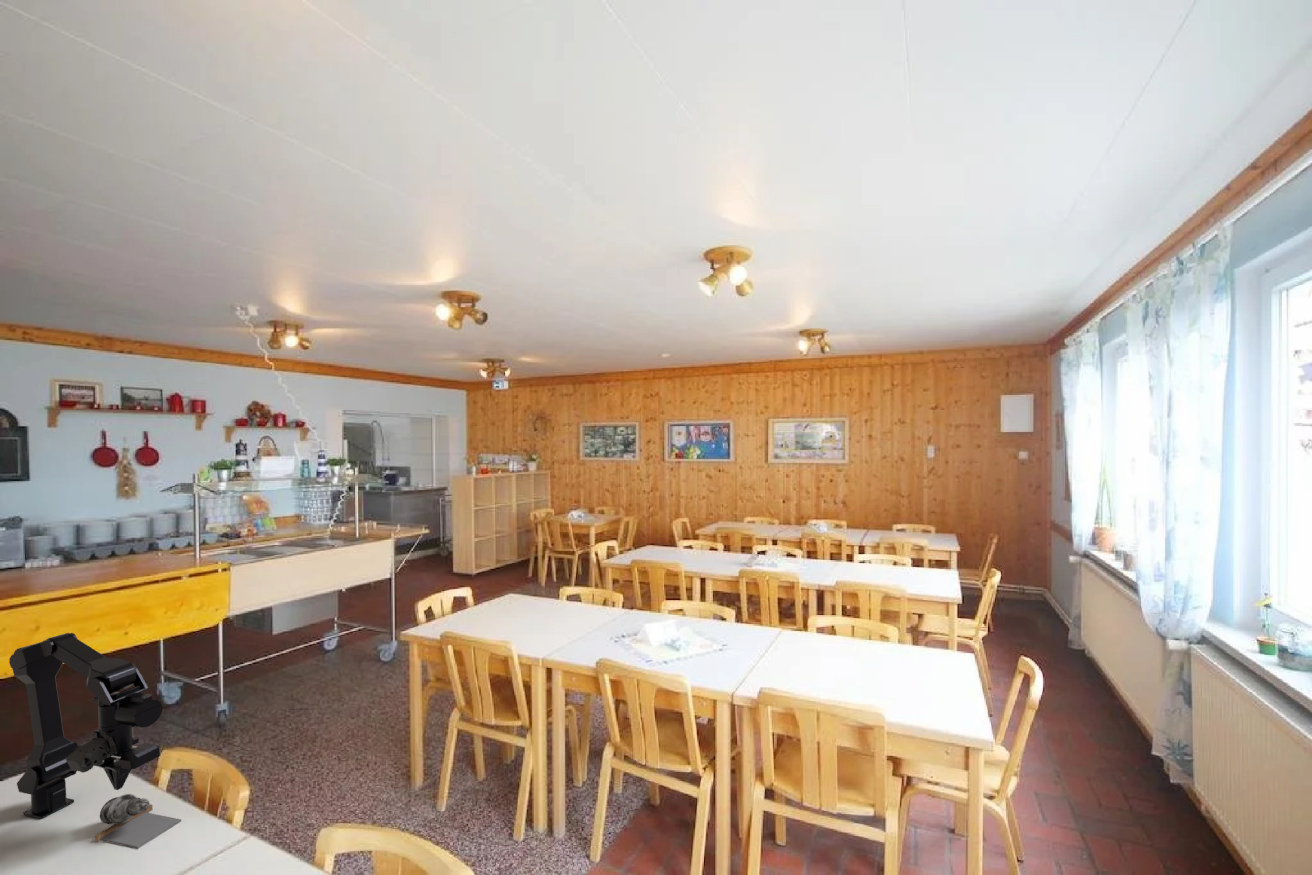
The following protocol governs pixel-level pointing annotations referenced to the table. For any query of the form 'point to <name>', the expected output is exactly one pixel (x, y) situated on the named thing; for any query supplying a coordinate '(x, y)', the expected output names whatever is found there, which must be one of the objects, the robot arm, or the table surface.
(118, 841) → the mat
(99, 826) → the table surface
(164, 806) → the table surface
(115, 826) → the kerb
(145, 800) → the stone baluster finial
